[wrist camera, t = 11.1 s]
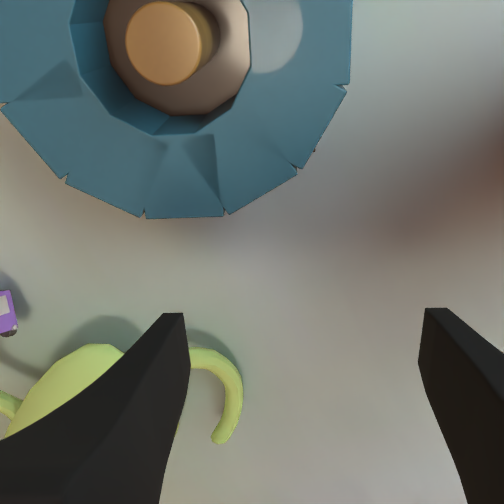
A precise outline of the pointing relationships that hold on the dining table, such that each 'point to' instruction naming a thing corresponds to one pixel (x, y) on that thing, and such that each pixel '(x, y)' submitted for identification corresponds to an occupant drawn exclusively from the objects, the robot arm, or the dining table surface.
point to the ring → (172, 127)
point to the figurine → (91, 368)
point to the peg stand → (179, 51)
